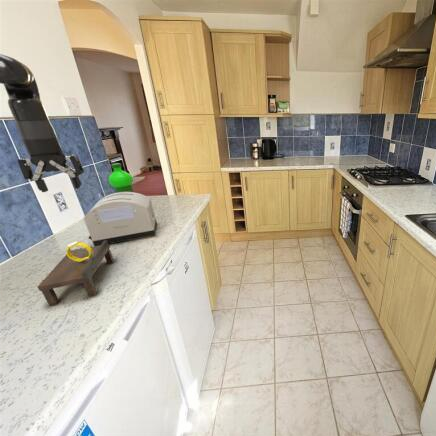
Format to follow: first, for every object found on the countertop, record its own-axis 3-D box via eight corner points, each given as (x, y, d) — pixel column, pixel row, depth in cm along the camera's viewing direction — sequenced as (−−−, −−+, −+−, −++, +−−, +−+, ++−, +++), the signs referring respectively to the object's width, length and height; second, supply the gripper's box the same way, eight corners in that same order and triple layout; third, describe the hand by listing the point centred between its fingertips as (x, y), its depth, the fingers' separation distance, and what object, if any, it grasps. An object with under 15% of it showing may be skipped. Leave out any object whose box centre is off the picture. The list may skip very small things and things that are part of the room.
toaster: (91, 249, 94) (73, 207, 87) (106, 225, 115) (93, 190, 108) (157, 236, 103) (146, 197, 96) (160, 216, 124) (151, 183, 117)
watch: (97, 254, 76) (86, 238, 73) (93, 258, 73) (81, 242, 70) (77, 260, 75) (65, 244, 72) (72, 265, 72) (59, 249, 70)
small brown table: (48, 306, 66) (34, 282, 63) (77, 267, 83) (68, 246, 80) (96, 295, 69) (85, 272, 66) (114, 260, 87) (107, 239, 83)
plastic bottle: (141, 204, 141) (128, 161, 131) (139, 210, 132) (125, 164, 122) (121, 207, 137) (106, 163, 127) (117, 213, 128) (101, 166, 118)
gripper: (74, 134, 77) (92, 184, 83) (16, 137, 73) (40, 189, 79) (63, 136, 71) (83, 190, 77) (-1, 139, 66) (26, 196, 73)
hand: (61, 189), depth 78 cm, fingers open, 8 cm apart
